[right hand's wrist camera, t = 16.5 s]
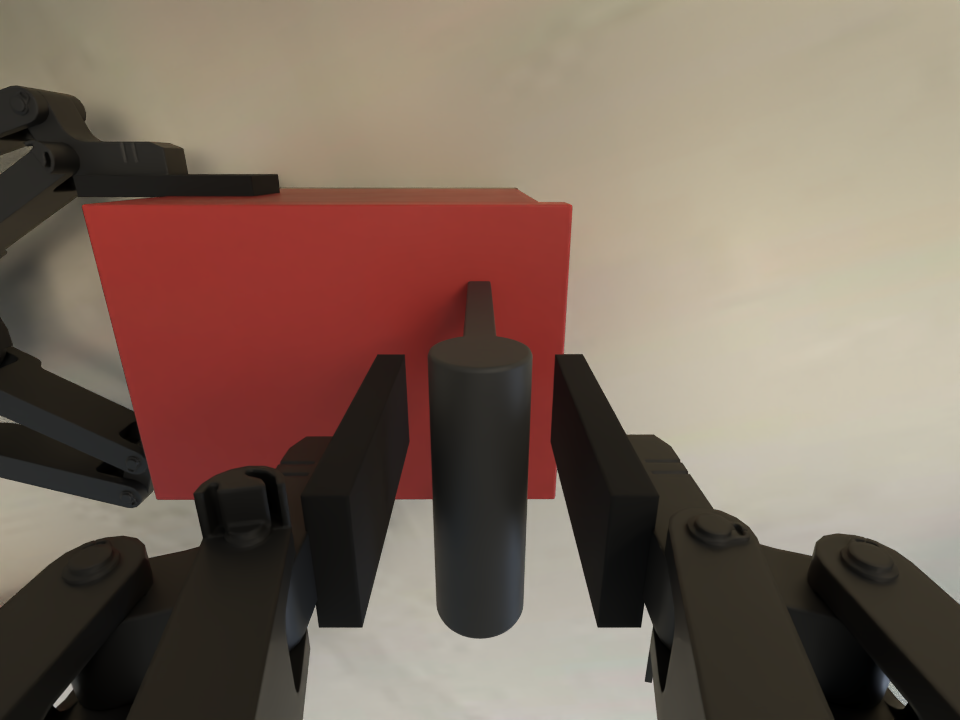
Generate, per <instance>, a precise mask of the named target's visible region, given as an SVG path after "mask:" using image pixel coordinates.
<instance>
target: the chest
mask: <svg viewBox="0 0 960 720" xmlns="http://www.w3.org/2000/svg"><path fill="white" fill-rule="evenodd" d="M113 202H537V201H536V200H534V199H532V198H531V197H529V196H528V195H526V194H524V193H523V192H521V191H519V190H518V189H517V188H280V193H275V194H267V195H260V196H165V197H155V198H144V199H134V200H124V201H113Z"/></svg>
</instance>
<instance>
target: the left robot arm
mask: <svg viewBox="0 0 960 720" xmlns="http://www.w3.org/2000/svg"><path fill="white" fill-rule="evenodd" d="M85 120H86V111H85V108H84V106H83V104H82V103H81V102H80V100H78V99H77V98H76V97H74V96H71V95H68V94H63V93H57V92H51V91H45V90H40V89H34V88H28V87H22V86H10V87H7V88H4V89H2V90H0V155H3V154H5V153H8V152H11V151H14V150H17V149H19V148H22V147H25V146H33V149H32V150H31V151H30V152H29V153H28V154H26V155H25V156H24V157H23V158H21V159H20V160H19V161H17V162H16V163H15V164H14V165H12V166H11V167H10V168H8V169H7V170H6V171H4V172H3V173H2V174H1V175H0V258H1V257H3V256H4V255H5V254H6V253H7V251H6V250H5V249H6V248H8V247H9V246H10V245H12V244H13V243H15V242H16V241H17V240H19V239H20V238H21V237H23V236H24V235H25V234H27V233H28V232H30V231H31V230H32V229H34V228H35V227H36V226H38V225H39V224H40V223H42V222H43V221H45V220H46V219H47V218H49V217H50V216H51V215H53V214H54V213H55V212H57V211H58V210H60V209H61V208H62V207H64V206H65V205H66V204H68V203H69V202H70V201H72V200H73V199H75V198H76V197H77V196H78V197H165V196H260V195H267V194H275V193H280V188H279V180H278V174H188V171H187V166H186V160H185V155H184V149H183V148H180V147H178V146H175V145H173V144H170V143H158V142H103V141H100V140H99V139H97V138H96V137H95V136H94V135H93V134H92V133H91V132H90V130H89V129H88V127H87V126H86V124H85ZM12 346H13V344H12V341H11V338H10V335H9V332H8V329H7V327H6V326H5V324H4V322H3V321H2V319H1V318H0V415H1V416H3V417H6V418H8V419H10V420H12V421H15V422H17V423H19V424H14V423H0V477H1V478H5V479H9V480H13V481H18V482H22V483H26V484H30V485H34V486H39V487H43V488H47V489H51V490H55V491H60V492H64V493H68V494H72V495H76V496H81V497H85V498H89V499H93V500H97V501H102V502H106V503H110V504H114V505H118V506H123V507H127V508H134V507H137V506H138V505H139V504H141V503H142V502H143V501H144V500H145V499H146V498H147V497H148V496H149V495H150V494H151V493H152V492H153V491H154V487H153V483H152V480H151V476H150V472H149V468H148V464H147V460H146V456H145V452H144V448H143V444H142V440H141V436H140V433H139V429H138V425H137V421H136V417H135V413H134V411H131V410H129V409H127V408H125V407H123V406H121V405H119V404H117V403H114V402H112V401H110V400H108V399H106V398H104V397H102V396H100V395H97V394H95V393H93V392H91V391H89V390H87V389H85V388H83V387H80V386H78V385H76V384H74V383H72V382H70V381H68V380H66V379H63V378H61V377H59V376H57V375H55V374H53V373H51V372H49V371H46V370H44V369H43V368H42V367H41V361H40V360H39V359H37V358H35V357H33V356H31V355H29V354H27V353H25V352H23V351H20V350H18V349H16V348H14V347H12ZM20 424H21V425H20Z"/></svg>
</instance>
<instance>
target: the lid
mask: <svg viewBox="0 0 960 720" xmlns="http://www.w3.org/2000/svg"><path fill="white" fill-rule="evenodd" d="M82 209H83V213H84V217H85V221H86V225H87V229H88V233H89V237H90V241H91V245H92V249H93V252H94V256H95V260H96V264H97V268H98V272H99V276H100V280H101V284H102V288H103V292H104V296H105V299H106V303H107V307H108V311H109V315H110V319H111V323H112V327H113V331H114V335H115V339H116V343H117V346H118V350H119V354H120V358H121V362H122V366H123V370H124V374H125V378H126V382H127V386H128V389H129V393H130V397H131V401H132V405H133V409H134V413H135V417H136V421H137V425H138V429H139V433H140V436H141V440H142V444H143V448H144V452H145V456H146V460H147V464H148V468H149V472H150V476H151V480H152V483H153V487H154V491H155V495H156V499H158V500H194V496H193V493H194V492H195V491H196V490H197V488H198V487H199V486H200V485H201V484H202V483H204V482H205V481H207V480H208V479H210V478H211V477H213V476H215V475H217V474H220V473H222V472H225V471H227V470H230V469H234V468H239V467H244V466H268V467H272V468H275V469H276V467H277V466H278V464H280V461H281V460H282V458H283V457H284V455H285V454H286V452H287V451H288V449H289V448H290V447H292V446H293V445H295V444H296V443H297V442H299V441H300V440H302V439H303V438H305V437H306V436H333V435H334V433H335V431H336V429H337V428H338V426H339V424H340V422H341V420H342V418H343V417H344V415H345V413H346V411H347V409H348V407H349V406H350V404H351V402H352V400H353V398H354V396H355V395H356V393H357V391H358V389H359V387H360V385H361V384H362V382H363V380H364V378H365V376H366V374H367V373H368V371H369V369H370V367H371V365H372V363H373V362H374V360H375V358H376V356H377V354H405V364H406V383H407V402H408V421H409V439H410V442H409V446H408V450H407V454H406V458H405V462H404V466H403V470H402V474H401V478H400V482H399V485H398V489H397V493H396V497H395V499H433V520H434V547H435V574H436V601H437V610H438V613H439V615H440V617H441V619H442V620H443V622H444V623H445V624H446V625H447V626H448V627H449V628H450V629H451V630H453V631H454V632H456V633H458V634H460V635H462V636H466V637H470V638H479V639H481V638H490V637H494V636H498V635H500V634H502V633H504V632H506V631H507V630H509V629H510V628H511V627H512V626H513V625H514V624H515V623H516V622H517V620H518V619H519V617H520V615H521V613H522V610H523V599H524V572H525V546H526V519H527V499H554V498H555V491H556V474H557V466H556V462H555V458H554V454H553V450H552V446H551V442H550V439H551V421H552V402H553V383H554V364H555V354H564V340H565V323H566V307H567V290H568V273H569V257H570V240H571V223H572V205H570V204H568V203H565V202H103V203H93V204H84V205H82Z"/></svg>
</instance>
